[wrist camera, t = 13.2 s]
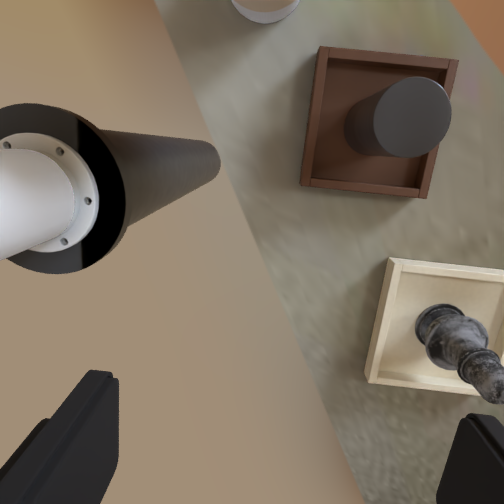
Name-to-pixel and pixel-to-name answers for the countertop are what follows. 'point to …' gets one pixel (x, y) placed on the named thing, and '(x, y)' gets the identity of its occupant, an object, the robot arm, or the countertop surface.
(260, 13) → the coffee cup
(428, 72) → the dark tray
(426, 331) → the marbled chess pawn
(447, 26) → the countertop surface
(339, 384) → the countertop surface
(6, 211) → the robot arm
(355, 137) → the dark gray cylinder
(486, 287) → the light tray
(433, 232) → the countertop surface
